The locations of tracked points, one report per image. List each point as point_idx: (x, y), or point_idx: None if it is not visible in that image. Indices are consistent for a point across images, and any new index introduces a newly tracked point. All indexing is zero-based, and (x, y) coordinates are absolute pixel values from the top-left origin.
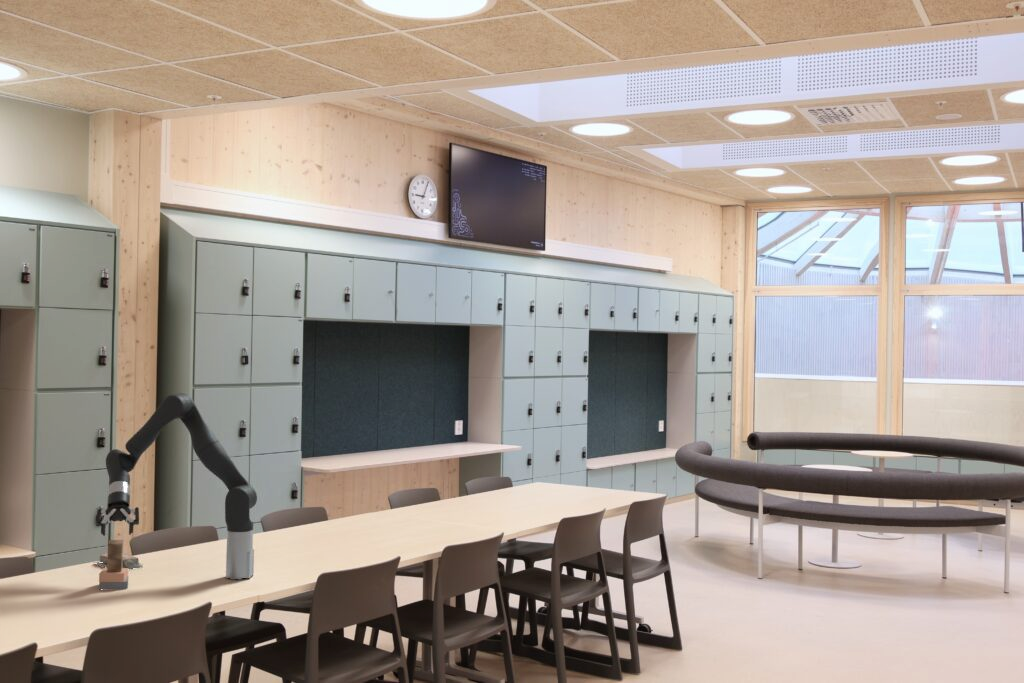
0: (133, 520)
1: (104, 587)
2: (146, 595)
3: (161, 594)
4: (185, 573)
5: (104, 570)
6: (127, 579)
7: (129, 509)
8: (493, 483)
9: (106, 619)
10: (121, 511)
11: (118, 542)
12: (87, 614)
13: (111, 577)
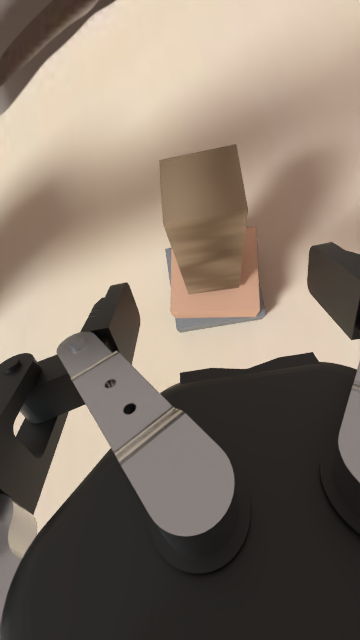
0: (57, 351)
1: None
2: (110, 188)
3: (76, 197)
4: None
5: (249, 274)
6: (170, 277)
7: (25, 575)
8: None
9: (166, 7)
10: (194, 426)
11: (182, 176)
12: (214, 34)
13: None
